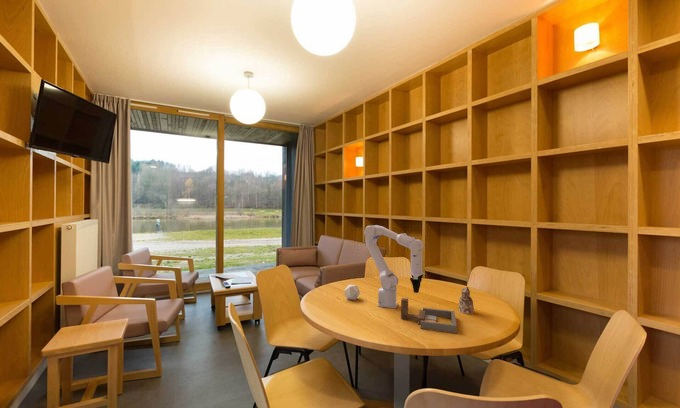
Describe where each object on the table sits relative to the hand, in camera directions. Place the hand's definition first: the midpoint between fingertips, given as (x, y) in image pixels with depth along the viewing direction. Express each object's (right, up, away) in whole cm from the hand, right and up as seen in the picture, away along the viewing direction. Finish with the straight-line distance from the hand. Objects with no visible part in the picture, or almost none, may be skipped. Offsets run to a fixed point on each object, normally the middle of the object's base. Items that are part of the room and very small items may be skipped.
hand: (416, 290), depth 149 cm
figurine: (+25, -11, 0) cm, 27 cm away
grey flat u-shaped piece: (+5, -10, -14) cm, 18 cm away
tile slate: (+4, -11, -11) cm, 16 cm away
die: (-32, -11, +19) cm, 39 cm away
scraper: (-5, -10, -11) cm, 16 cm away
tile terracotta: (+2, -11, -17) cm, 20 cm away
